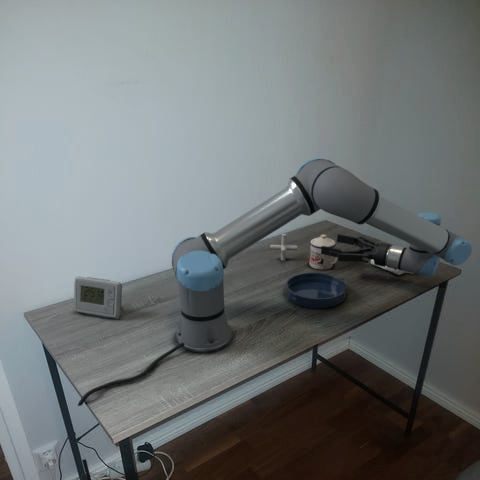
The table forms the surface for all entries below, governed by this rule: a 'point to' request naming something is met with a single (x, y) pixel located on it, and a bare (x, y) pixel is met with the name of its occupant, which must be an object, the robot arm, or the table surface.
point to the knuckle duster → (391, 269)
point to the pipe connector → (283, 247)
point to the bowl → (315, 290)
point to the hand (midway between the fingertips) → (329, 243)
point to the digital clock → (97, 297)
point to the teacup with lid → (320, 259)
